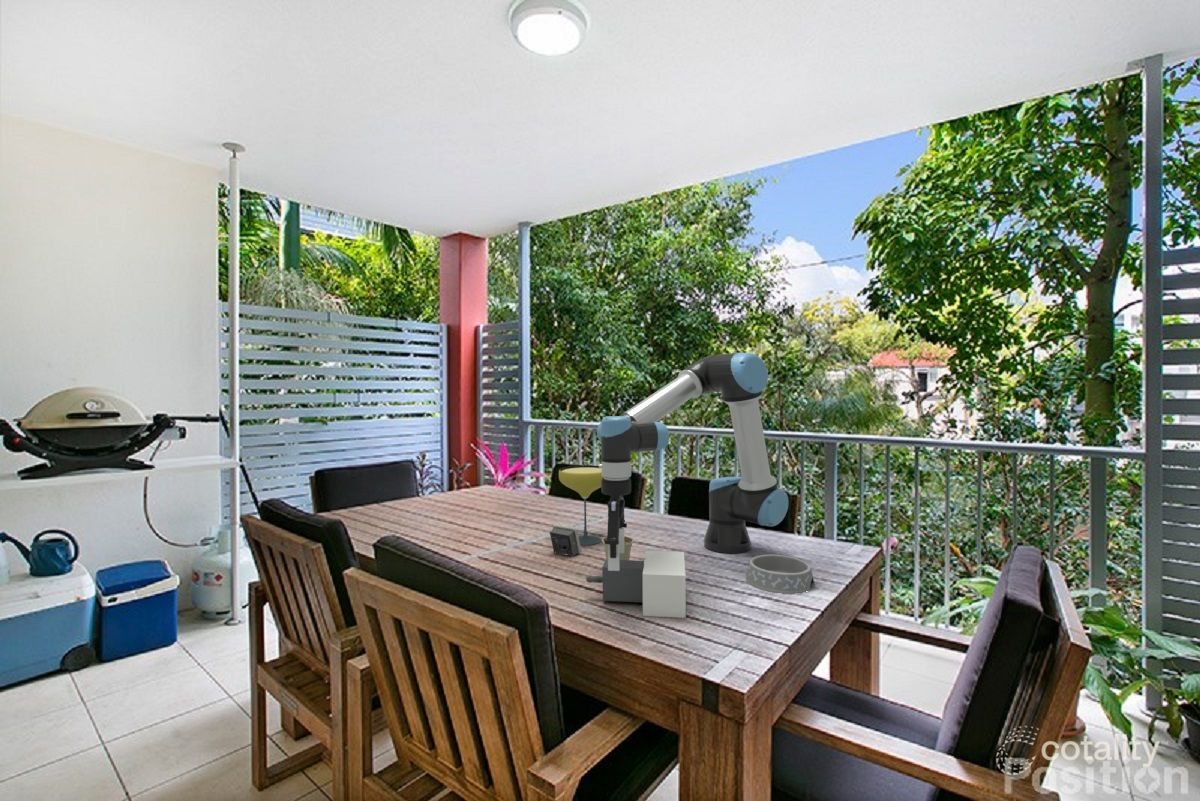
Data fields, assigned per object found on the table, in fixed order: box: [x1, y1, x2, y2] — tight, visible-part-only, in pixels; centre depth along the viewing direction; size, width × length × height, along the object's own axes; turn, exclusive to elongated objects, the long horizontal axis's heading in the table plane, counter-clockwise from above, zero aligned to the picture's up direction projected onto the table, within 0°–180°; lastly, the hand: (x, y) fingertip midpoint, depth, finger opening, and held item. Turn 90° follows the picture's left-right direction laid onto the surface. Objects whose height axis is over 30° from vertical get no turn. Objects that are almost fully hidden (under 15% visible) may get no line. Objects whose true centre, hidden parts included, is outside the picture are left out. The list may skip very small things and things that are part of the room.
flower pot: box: [601, 535, 635, 560], centre depth 163 cm, size 9×9×9 cm
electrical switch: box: [549, 524, 582, 557], centre depth 177 cm, size 9×5×9 cm, turn 57°
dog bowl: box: [745, 554, 815, 595], centre depth 152 cm, size 17×18×5 cm
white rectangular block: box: [642, 550, 687, 619], centre depth 139 cm, size 10×18×10 cm, turn 173°
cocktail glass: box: [558, 464, 604, 546], centre depth 191 cm, size 18×18×25 cm
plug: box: [585, 559, 645, 603], centre depth 140 cm, size 20×6×8 cm, turn 83°
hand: (616, 561), depth 140 cm, fingers open, 13 cm apart
